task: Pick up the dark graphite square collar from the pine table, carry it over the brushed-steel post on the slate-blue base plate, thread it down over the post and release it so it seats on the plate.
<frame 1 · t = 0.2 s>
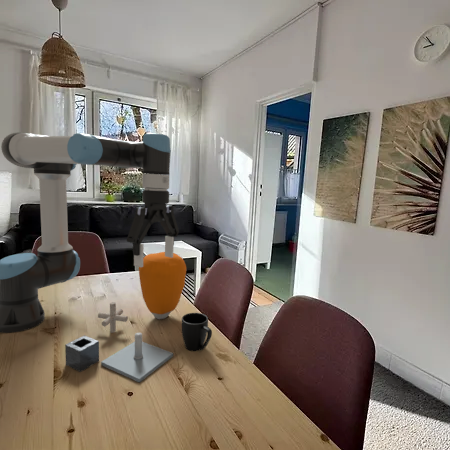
hand: (154, 261, 91), 27 cm above the table, fingers open, 13 cm apart
light grey toy jack: (112, 331, 103), on the table
mug: (197, 350, 95), on the table
post block: (138, 360, 87), on the table
collar: (82, 362, 85), on the table
orange egg-shaped ornament: (161, 318, 115), on the table
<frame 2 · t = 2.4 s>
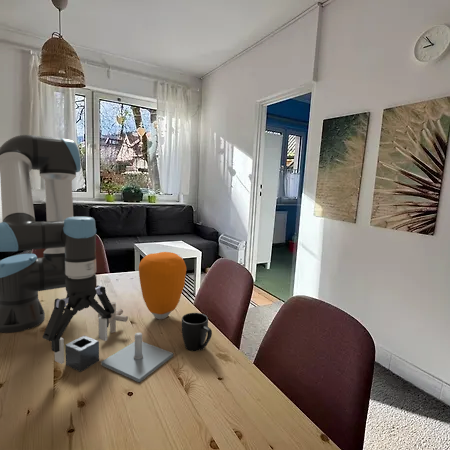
hand: (82, 349, 84), 4 cm above the table, fingers open, 13 cm apart
nothing on the table moved.
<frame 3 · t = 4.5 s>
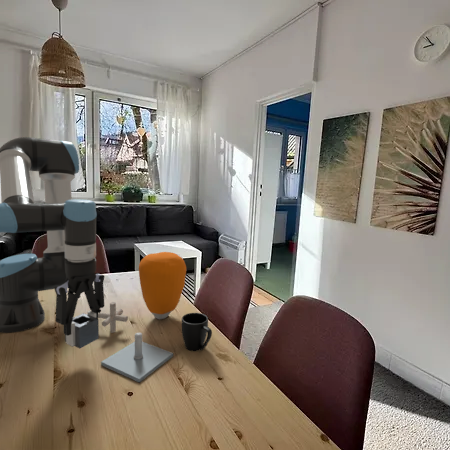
hand: (81, 338, 85), 7 cm above the table, fingers closed on collar, 6 cm apart
collar: (82, 340, 85), point 6 cm above the table, touching gripper
everything else where it was.
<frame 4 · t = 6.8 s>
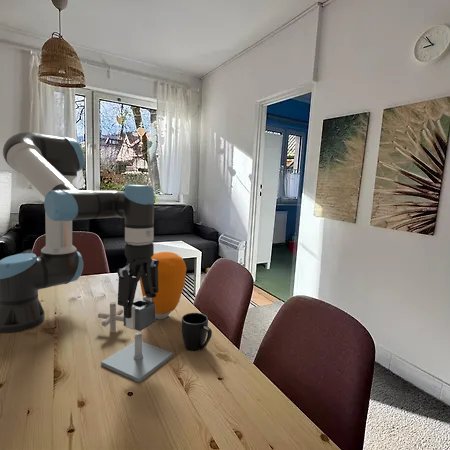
hand: (139, 323, 86), 11 cm above the table, fingers closed on collar, 6 cm apart
collar: (139, 324, 86), point 11 cm above the table, touching gripper
everything else where it was.
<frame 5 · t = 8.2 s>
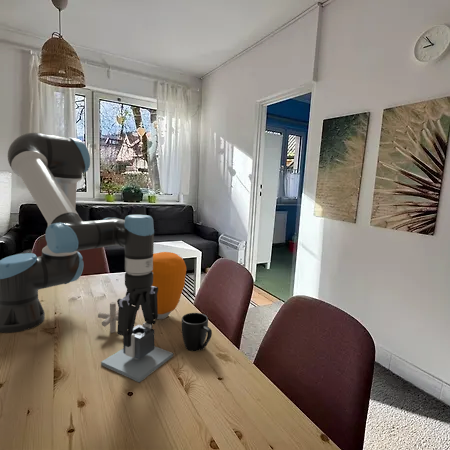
hand: (138, 349, 87), 3 cm above the table, fingers closed on collar, 6 cm apart
collar: (139, 351, 87), point 3 cm above the table, touching gripper
everything else where it was.
when the fingers open (2 cm above the table, at t = 9.2 s): collar stays where it is, resting on post block.
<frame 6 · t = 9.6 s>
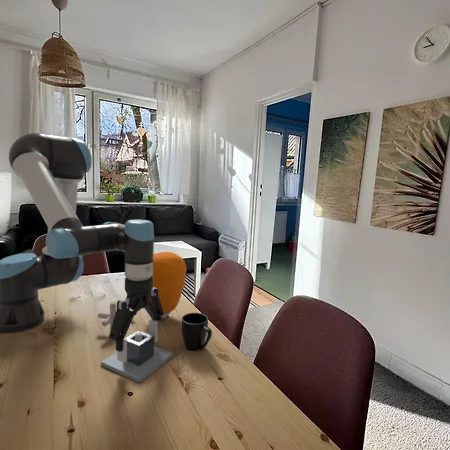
hand: (138, 350, 87), 3 cm above the table, fingers open, 11 cm apart
collar: (138, 357, 87), point 1 cm above the table, touching post block
everything else where it was.
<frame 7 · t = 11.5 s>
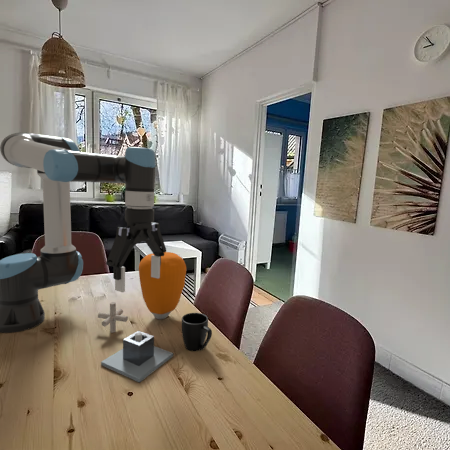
hand: (138, 283, 84), 23 cm above the table, fingers open, 13 cm apart
nothing on the table moved.
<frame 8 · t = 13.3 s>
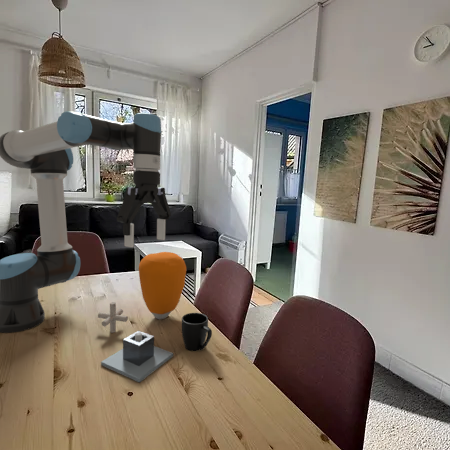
hand: (146, 243, 91), 33 cm above the table, fingers open, 13 cm apart
nothing on the table moved.
at the end: collar 0.1 cm off-centre on the post block, point 1.0 cm above the post block's base; the gripper is holding nothing; collar tilted 0° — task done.
